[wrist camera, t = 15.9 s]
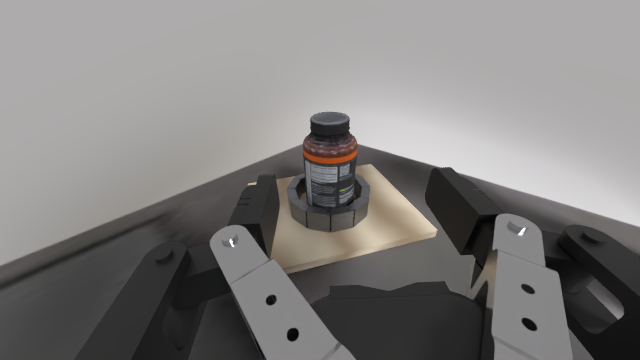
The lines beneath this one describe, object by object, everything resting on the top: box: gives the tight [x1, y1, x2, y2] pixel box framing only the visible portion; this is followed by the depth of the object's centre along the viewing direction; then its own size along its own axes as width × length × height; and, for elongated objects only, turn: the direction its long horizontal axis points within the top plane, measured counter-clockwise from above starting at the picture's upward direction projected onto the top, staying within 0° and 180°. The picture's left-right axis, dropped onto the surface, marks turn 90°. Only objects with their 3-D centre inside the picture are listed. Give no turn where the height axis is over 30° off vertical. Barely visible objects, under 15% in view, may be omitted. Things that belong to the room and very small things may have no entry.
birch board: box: [248, 164, 437, 274], centre depth 29 cm, size 20×16×1 cm
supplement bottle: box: [303, 112, 357, 209], centre depth 26 cm, size 6×6×11 cm
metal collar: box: [287, 172, 370, 233], centre depth 28 cm, size 10×10×2 cm
